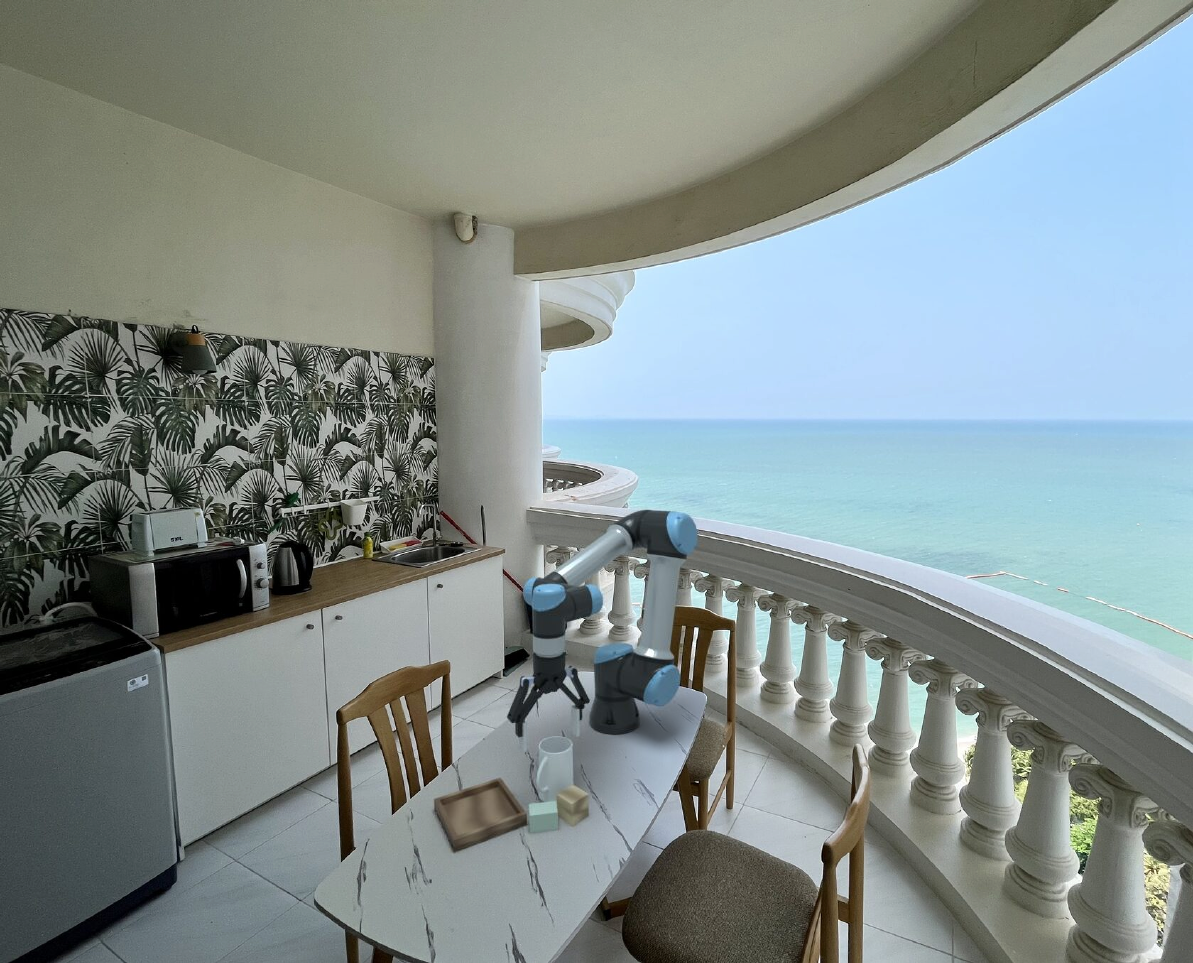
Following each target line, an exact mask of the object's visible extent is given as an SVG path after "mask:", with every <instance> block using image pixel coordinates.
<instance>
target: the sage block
mask: <svg viewBox="0 0 1193 963" xmlns="http://www.w3.org/2000/svg"><path fill="white" fill-rule="evenodd" d="M528 824H529V833H530V834H535V833H542V832H550V831H558V830H559V817H558V811H557V804H556V801H550V802H543V801H541V802H535V803H528Z"/></svg>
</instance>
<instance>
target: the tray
mask: <svg viewBox="0 0 1193 963" xmlns="http://www.w3.org/2000/svg"><path fill="white" fill-rule="evenodd" d="M433 806H434V809H433V810H434V812H435V814H436V816H437V818H438V820H439V823H440V824H441V826H442V829H443V830H444V831H443V832H444V834H445V836H446V837H447V839H448V842H449V843H450V846H451V848H452V850H453V853H456V852H459V851H461V850H464V849H466V848H470V847H473V846H475V845H479V844H480V843H483V842H486V841H488V840H490V839H494V838H495V837H498V836H501V835H504V834H506V833H509V832H511V831H514V830H516V829H519V828H522V827H524V826H527V825H528V814H527V811H525V809H524V808H523V806H522V804H521V803H520V802H519V800H517V798H516V796H515V795H514V794H513V793H512V791H511V790H510V788H509V787H508V785H507V784H506V783H505V781H504V780H503V778H502V777H498V778H494V779H492V780H489V781H485V782H482V783H479V784H476V785H474V786H470V787H467V788H464V789H461V790H458V791H457V790H456V791H455V792H452V793H448V794H446V795H442V796H439V797H436V798H434V799H433Z"/></svg>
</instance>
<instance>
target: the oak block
mask: <svg viewBox="0 0 1193 963" xmlns="http://www.w3.org/2000/svg"><path fill="white" fill-rule="evenodd" d="M589 810H590V808H589V793H587V792H586V791H584V790H583V789H581V788H579V787H578V786H576V785H574V784H573V785H572V786H570V787H568V788H567V789H565V790H563V791H562V792H560V793H558V794H557V811H558V819H559V818H560V819H561V820H562V821H564V822H566V823H567V824H568V825H570V826H571V827H574V826H575V825H576V824H578V823H579V822H581V821H582V820H584V819H585V818H587V817H588V816H589Z"/></svg>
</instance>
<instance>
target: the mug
mask: <svg viewBox="0 0 1193 963" xmlns="http://www.w3.org/2000/svg"><path fill="white" fill-rule="evenodd" d="M573 746H574V745H573V741H572V739H570V738H568V737H565V736H561V735H560V736H559V735H556V736H555V735H554V736H549V737H544V738H543V739H542V740H541V741H540V742H539V744H538V753H539V769H538V772H537V771H536V788H537V790H538V798H539V799H540V800H541V802H550V801H556V804H557V794H558V793H560V792H562V791H563V790H565V789H567V788H568V787H570V786H572V785H574V758H573V756H574V755H573V754H574V753H573V751H574V749H573Z"/></svg>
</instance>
